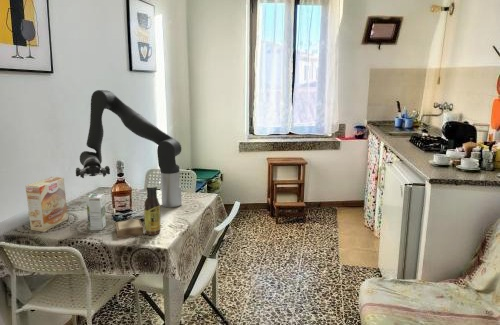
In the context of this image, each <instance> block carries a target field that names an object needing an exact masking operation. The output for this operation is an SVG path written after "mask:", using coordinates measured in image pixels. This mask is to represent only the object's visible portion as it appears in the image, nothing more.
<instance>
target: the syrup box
mask: <svg viewBox="0 0 500 325" xmlns="http://www.w3.org/2000/svg"><path fill="white" fill-rule="evenodd" d="M105 202H106V199H105V194H104V193H91V194H89V195H88V196H87V197H86V211H87V225H88V228H87V229H88V231H103V229H104V228H106V226H107V212H106V203H105Z"/></svg>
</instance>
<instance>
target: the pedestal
mask: <svg viewBox="0 0 500 325" xmlns="http://www.w3.org/2000/svg"><path fill="white" fill-rule="evenodd" d="M115 230H116V235H117V238H118V239H120V238H126V237H132V236H133V237H134V236H140V235H141V236H142V235H144V226H143V224H142V220H141V219H140V218H137V219H129V220H120V221H116V222H115Z"/></svg>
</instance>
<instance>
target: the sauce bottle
mask: <svg viewBox="0 0 500 325" xmlns="http://www.w3.org/2000/svg"><path fill="white" fill-rule="evenodd" d="M157 190H158V186H157V185H156V184H155V185H154V184H152V185H147V186H146V199H145V201H144V230H145V231H144V232H145V234H146V235H147V236H153V235H154V236H155V235H158V234H159V233H160V232H161V228H162V226H161V224H162V223H161V205H160V203H159V198H158V194H157V192H158V191H157Z"/></svg>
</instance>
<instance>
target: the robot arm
mask: <svg viewBox="0 0 500 325" xmlns="http://www.w3.org/2000/svg"><path fill="white" fill-rule="evenodd" d="M104 110H108V111H111V112H112V113H113V114H115V115H117V117H119V119H120V121H121V122H122V124H123V125H124V127H126V129H128V130H129V131H131V133H133V134H135V135H136V136H138V137H141V138H143V139H146V140H148V141H151V142H153V143H155V144H156V145H157V147H156V148H157V150H156V151H157V153H156V154H157V163H158V167H159V169H160V188H161V191H160V192H161V206H162V207H163V208H176V207H179V206H182V205H183V204H182V203H183V202H182V186H181V178H180V176H181V175H180V174H181V173H180V166H179V165H178V164H177V163H176V157H177V156H179V155H180V154H181V153H182V145H181V143H180V141H179V140H178V139H176V138H174V137H173V136H171V135H169V134H167V133H166V132H165V131H163V130H161V129H160V128H159V127H157V126H156V125H155V124H153V123H152V122H151V121H149V120H148V119H147V118H146V117H144V116H143V115H141V114H140V113H139V112H137V111H136V110H134V109H133V108H132V107H131V106H129V105H127V104H126V103H124V102H123V101H122V100H121V98H119V97H118V96H117V95H116V94H115V93H114V92H112V91H110V90H103V89H98V90H95V91H93V93H92V94H91V97H90V115H89V117H90V118H89V120H90V121H89V130H88V135H87V139H86V146H87V147H88V148H89V149H93V150H95V152H94V151H86V150H84V151H82V152H81V153H80V155H79V162H80V164H81V165H82V166H83V168H80V167H76V168H75V176H76V177H80V178H82V179H84V178H85V177H87V176H89V177H96V176H98V175H99V176H102V177H103V178H105V177H106V176H107V175H111V170H110V169H111V168H110V166H108V165H106V166H104V167H102V165H101V164H102V162H103V158H102V143H103V137H104V126H103V114H104Z"/></svg>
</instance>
